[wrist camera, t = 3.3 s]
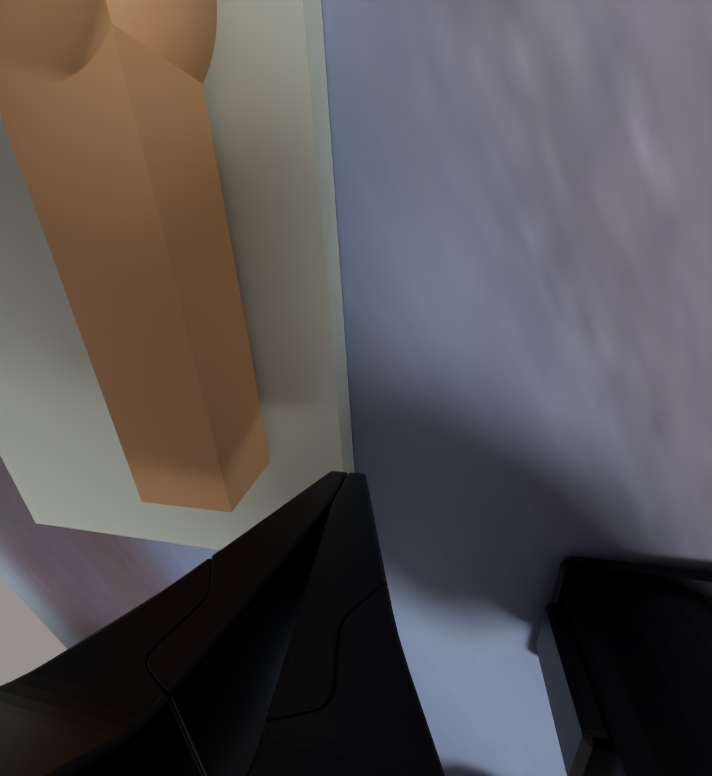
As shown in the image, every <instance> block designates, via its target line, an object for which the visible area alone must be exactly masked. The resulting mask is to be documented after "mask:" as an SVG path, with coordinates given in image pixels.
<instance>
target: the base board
mask: <svg viewBox="0 0 712 776" xmlns="http://www.w3.org/2000/svg"><path fill="white" fill-rule="evenodd" d="M203 89H204V95H205V100H206V106H207V112H208V117H209V123H210V128H211V134H212V139H213V145H214V151H215V156H216V162H217V167H218V173H219V179H220V184H221V190H222V195H223V201H224V206H225V212H226V218H227V223H228V229H229V234H230V240H231V245H232V251H233V257H234V262H235V268H236V273H237V279H238V285H239V290H240V296H241V301H242V307H243V312H244V318H245V324H246V329H247V335H248V340H249V346H250V351H251V357H252V363H253V368H254V374H255V379H256V385H257V391H258V396H259V402H260V407H261V413H262V418H263V424H264V430H265V435H266V441H267V446H268V452H269V457H270V462H269V464H268V465H267V466H266V468H265V469H264V470H263V472H262V473H261V474H260V476H259V477H258V478H257V480H256V481H255V482H254V484H253V485H252V486H251V488H250V489H249V490H248V491H247V493H246V494H245V495H244V497H243V498H242V499H241V501H240V502H239V503H238V505H237V506H236V507H235V509H234V510H233V511H232V512H223V511H215V510H206V509H198V508H190V507H181V506H173V505H165V504H156V503H148V502H142V501H141V498H140V496H139V493H138V490H137V488H136V485H135V482H134V479H133V477H132V474H131V471H130V468H129V466H128V463H127V460H126V457H125V455H124V452H123V449H122V446H121V444H120V441H119V438H118V435H117V433H116V430H115V427H114V424H113V422H112V419H111V416H110V413H109V411H108V408H107V405H106V402H105V400H104V397H103V394H102V391H101V389H100V386H99V383H98V380H97V378H96V375H95V372H94V370H93V367H92V364H91V361H90V359H89V356H88V353H87V350H86V348H85V345H84V342H83V339H82V337H81V334H80V331H79V328H78V326H77V323H76V320H75V317H74V315H73V312H72V309H71V306H70V304H69V301H68V298H67V295H66V293H65V290H64V287H63V284H62V282H61V279H60V276H59V273H58V271H57V268H56V265H55V262H54V260H53V257H52V254H51V252H50V249H49V246H48V243H47V241H46V238H45V235H44V232H43V230H42V227H41V224H40V221H39V219H38V216H37V213H36V210H35V208H34V205H33V202H32V199H31V197H30V194H29V191H28V188H27V186H26V183H25V180H24V177H23V175H22V172H21V169H20V166H19V164H18V161H17V158H16V155H15V153H14V150H13V147H12V144H11V142H10V139H9V136H8V133H7V131H6V128H5V125H4V123H3V120H2V117H1V114H0V456H1V458H2V460H3V462H4V464H5V465H6V467H7V469H8V471H9V473H10V475H11V477H12V479H13V481H14V483H15V485H16V486H17V488H18V490H19V492H20V494H21V496H22V498H23V500H24V502H25V504H26V506H27V507H28V509H29V511H30V513H31V515H32V517H33V519H34V521H35V523H39V524H45V525H52V526H59V527H66V528H73V529H79V530H86V531H93V532H100V533H107V534H113V535H120V536H127V537H134V538H141V539H147V540H154V541H161V542H168V543H175V544H181V545H188V546H195V547H202V548H209V549H215V550H221V549H223V548H224V547H225V546H227V545H228V544H230V543H231V542H232V541H234V540H235V539H237V538H238V537H239V536H241V535H242V534H244V533H245V532H246V531H248V530H249V529H251V528H252V527H253V526H255V525H256V524H258V523H259V522H260V521H262V520H263V519H265V518H266V517H267V516H269V515H270V514H272V513H273V512H274V511H276V510H277V509H278V508H280V507H281V506H283V505H284V504H285V503H287V502H288V501H290V500H291V499H292V498H294V497H295V496H297V495H298V494H299V493H301V492H302V491H304V490H305V489H306V488H308V487H309V486H311V485H312V484H313V483H315V482H316V481H318V480H319V479H320V478H322V477H323V476H325V475H326V474H327V473H329V472H331V471H341V472H347V473H348V474H349V473H351V472H352V473H355V471H354V457H353V443H352V429H351V415H350V401H349V386H348V372H347V358H346V344H345V330H344V316H343V302H342V288H341V274H340V260H339V246H338V232H337V218H336V204H335V190H334V176H333V162H332V148H331V134H330V119H329V105H328V91H327V77H326V63H325V49H324V35H323V21H322V7H321V0H217V28H216V39H215V45H214V52H213V56H212V59H211V63H210V67H209V70H208V72H207V75H206V77H205V80H204V82H203Z"/></svg>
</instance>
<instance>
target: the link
mask: <svg viewBox="0 0 712 776" xmlns="http://www.w3.org/2000/svg"><path fill="white" fill-rule="evenodd" d="M216 28H217V0H0V114H1V117H2V120H3V123H4V125H5V128H6V131H7V133H8V136H9V139H10V142H11V144H12V147H13V150H14V153H15V155H16V158H17V161H18V164H19V166H20V169H21V172H22V175H23V177H24V180H25V183H26V186H27V188H28V191H29V194H30V197H31V199H32V202H33V205H34V208H35V210H36V213H37V216H38V219H39V221H40V224H41V227H42V230H43V232H44V235H45V238H46V241H47V243H48V246H49V249H50V252H51V254H52V257H53V260H54V262H55V265H56V268H57V271H58V273H59V276H60V279H61V282H62V284H63V287H64V290H65V293H66V295H67V298H68V301H69V304H70V306H71V309H72V312H73V315H74V317H75V320H76V323H77V326H78V328H79V331H80V334H81V337H82V339H83V342H84V345H85V348H86V350H87V353H88V356H89V359H90V361H91V364H92V367H93V370H94V372H95V375H96V378H97V380H98V383H99V386H100V389H101V391H102V394H103V397H104V400H105V402H106V405H107V408H108V411H109V413H110V416H111V419H112V422H113V424H114V427H115V430H116V433H117V435H118V438H119V441H120V444H121V446H122V449H123V452H124V455H125V457H126V460H127V463H128V466H129V468H130V471H131V474H132V477H133V479H134V482H135V485H136V488H137V490H138V493H139V496H140V498H141V501H142V502H148V503H156V504H165V505H173V506H181V507H190V508H198V509H206V510H215V511H223V512H232V511H233V510H234V509H235V507H236V506H237V505H238V503H239V502H240V501H241V499H242V498H243V497H244V495H245V494H246V493H247V491H248V490H249V489H250V488H251V486H252V485H253V484H254V482H255V481H256V480H257V478H258V477H259V476H260V474H261V473H262V472H263V470H264V469H265V468H266V466H267V465H268V464H269V462H270V457H269V452H268V446H267V441H266V435H265V430H264V424H263V418H262V413H261V407H260V402H259V396H258V391H257V385H256V379H255V374H254V368H253V363H252V357H251V351H250V346H249V340H248V335H247V329H246V324H245V318H244V312H243V307H242V301H241V296H240V290H239V285H238V279H237V273H236V268H235V262H234V257H233V251H232V245H231V240H230V234H229V229H228V223H227V218H226V212H225V206H224V201H223V195H222V190H221V184H220V179H219V173H218V167H217V162H216V156H215V151H214V145H213V139H212V134H211V128H210V123H209V117H208V112H207V106H206V100H205V95H204V89H203V82H204V80H205V77H206V75H207V72H208V70H209V67H210V63H211V59H212V56H213V52H214V45H215V39H216Z"/></svg>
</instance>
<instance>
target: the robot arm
mask: <svg viewBox="0 0 712 776" xmlns="http://www.w3.org/2000/svg"><path fill="white" fill-rule="evenodd" d="M575 571H577V572H575ZM536 648H537V653H538V657H539V661H540V665H541V669H542V673H543V677H544V682H545V686H546V690H547V694H548V698H549V702H550V707H551V711H552V715H553V719H554V723H555V727H556V732H557V736H558V740H559V744H560V748H561V752H562V756H563V761H564V765H565V769H566V773H567V776H712V573H709V572H701V571H693V570H684V569H676V568H668V567H660V566H651V565H643V564H635V563H627V562H618V561H610V560H602V559H594V558H585V557H569V558H566V559H565V560H563V561H562V563H561V565H560V569H559V573H558V578H557V582H556V587H555V591H554V595H553V600H552V602H549V603H548V605H547V606H546V607H545V608H544V613H543V617H542V622H541V627H540V631H539V636H538V641H537V645H536ZM0 776H445V774H444V771H443V768H442V765H441V762H440V759H439V756H438V754H437V751H436V748H435V745H434V742H433V739H432V736H431V733H430V730H429V727H428V724H427V721H426V718H425V715H424V712H423V709H422V707H421V704H420V701H419V698H418V695H417V692H416V689H415V686H414V683H413V680H412V677H411V674H410V671H409V668H408V665H407V662H406V658H405V655H404V652H403V649H402V645H401V642H400V639H399V636H398V631H397V627H396V623H395V619H394V614H393V610H392V605H391V600H390V595H389V590H388V587H387V581H386V575H385V570H384V565H383V560H382V555H381V550H380V545H379V539H378V534H377V529H376V524H375V519H374V514H373V508H372V503H371V498H370V493H369V488H368V483H367V478H366V475H365V474H364V473H352V472H351V473H349V474H348V473H347V472H341V471H331V472H329V473H327V474H326V475H325V476H323V477H322V478H320V479H319V480H318V481H316V482H315V483H313V484H312V485H311V486H309V487H308V488H306V489H305V490H304V491H302V492H301V493H299V494H298V495H297V496H295V497H294V498H292V499H291V500H290V501H288V502H287V503H285V504H284V505H283V506H281V507H280V508H278V509H277V510H276V511H274V512H273V513H272V514H270V515H269V516H267V517H266V518H265V519H263V520H262V521H260V522H259V523H258V524H256V525H255V526H253V527H252V528H251V529H249V530H248V531H246V532H245V533H244V534H242V535H241V536H239V537H238V538H237V539H235V540H234V541H232V542H231V543H230V544H228V545H227V546H225V547H224V548H223V549H221V550H220V551H218V552H217V553H216V554H214V555H213V556H212V559H207V560H206V561H204V562H203V563H201V564H200V565H199V566H197V567H196V568H194V569H193V570H192V571H190V572H189V573H187V574H186V575H184V576H183V577H181V578H180V579H179V580H177V581H176V582H174V583H173V584H171V585H170V586H168V587H167V588H165V589H164V590H162V591H161V592H159V593H158V594H156V595H155V596H153V597H151V598H150V599H148V600H147V601H145V602H144V603H142V604H140V605H139V606H137V607H136V608H134V609H133V610H131V611H129V612H128V613H126V614H125V615H123V616H121V617H120V618H118V619H116V620H115V621H113V622H112V623H110V624H108V625H107V626H105V627H103V628H102V629H100V630H99V631H97V632H95V633H94V634H92V635H90V636H89V637H87V638H86V639H84V640H82V641H81V642H79V643H77V644H76V645H74V646H73V647H71V648H69V649H68V650H66V651H64V652H63V653H61V654H60V655H58V656H56V657H55V658H53V659H52V660H50V661H48V662H47V663H45V664H43V665H41V666H40V667H38V668H36V669H35V670H33V671H31V672H29V673H27V674H25V675H23V676H21V677H19V678H17V679H15V680H13V681H11V682H9V683H6V684H4V685H2V686H0Z"/></svg>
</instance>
